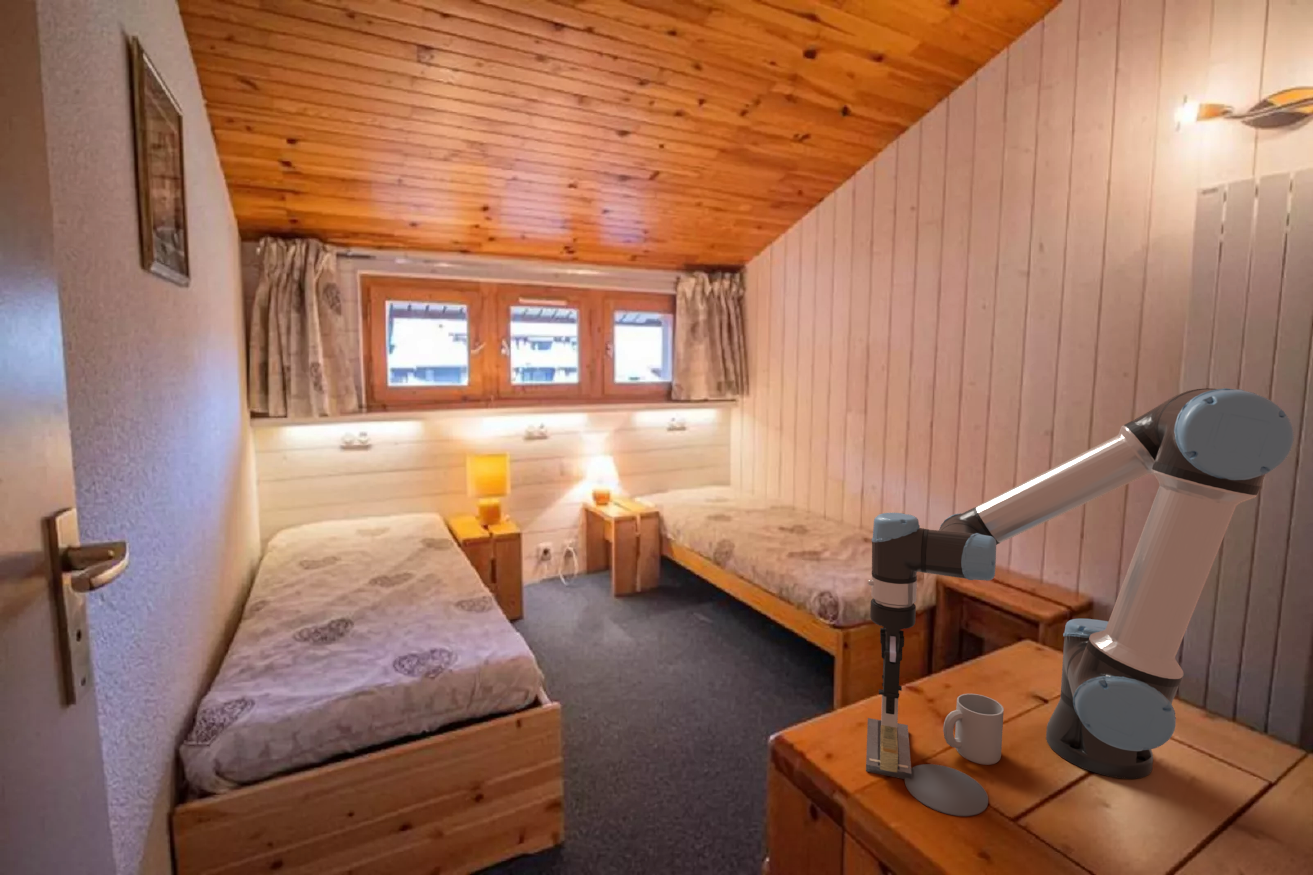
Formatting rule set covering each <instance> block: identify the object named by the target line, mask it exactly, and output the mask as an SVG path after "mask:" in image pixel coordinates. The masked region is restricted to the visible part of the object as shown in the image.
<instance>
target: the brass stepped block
mask: <svg viewBox="0 0 1313 875" xmlns="http://www.w3.org/2000/svg"><path fill="white" fill-rule="evenodd" d="M897 768H898V742H897V728H895V727H890V726H884V725H881V735H880V769H881V770H886V771H891V772H896V773H897Z"/></svg>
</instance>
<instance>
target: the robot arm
mask: <svg viewBox="0 0 1313 875" xmlns="http://www.w3.org/2000/svg"><path fill="white" fill-rule="evenodd" d="M1294 433H1295V432H1294V428H1293V424H1292V422H1291V419H1290V418H1289V416H1288V415H1287V414H1286V411H1284V410H1283V408H1281V407H1280V406H1279V405H1278V404H1277V403H1275V402H1274V401H1272V400H1271V399H1269V398H1267V397H1265V396H1263V395H1260V394H1257V393H1255V392H1251V391H1246V390H1245V389H1241V388H1240V389H1237V388H1227V387H1226V388H1225V387H1224V388H1206V387H1205V388H1196V389H1190V390H1187V391H1184V392H1182V393H1179V394H1176V395H1175V396H1172V397H1171V398H1169V399H1167V400H1166V401H1163V402H1162V403H1160V404H1158V405H1157V406H1156V407H1154V408H1152V409H1151V410H1148V411H1147V412H1145V413H1143V414H1142V415H1139V416H1138V417H1136V418H1135V419H1132V420H1131V421H1129V422H1127V423H1125V424H1123V425H1121V426H1120V429H1119V432H1118V434H1117V435H1115V436H1114V437H1111V438H1110V439H1108V440H1105V441H1103V442H1102V443H1100V444H1098V445H1095V446H1094V447H1092V448H1089V449H1087V450H1086V451H1084V452H1082V453H1079V454H1078V455H1076V456H1074V457H1072V458H1070V459H1067V460H1066V461H1064V462H1062V463H1060V464H1058V465H1056V466H1054V467H1052V468H1050V469H1048V470H1046V471H1044V472H1042V473H1040V474H1038V475H1036V476H1034V477H1032V478H1030V479H1028V480H1026V481H1024V482H1022V483H1020V484H1018V485H1016V486H1013V487H1012V488H1010V489H1008V490H1006V491H1004V492H1002V493H1000V494H998V495H996V496H994V497H992V498H990V499H988V500H985V501H984V502H982V503H980V504H978V505H976V506H975V507H973V508H970V509H968V510H967V511H964V512H962V513H961V512H960V513H954V514H952V515H950V516H948V517H947V518H946V519H944V521H943V522H942V523H940V524H941V525H940V527H939V530H938V529H936V530H935V529H928V528H924V527H921V525H920V523H919V519H918V517H916V516H914V515H912V514H907V513H901V512H884V513H879V514H878V515H876V516H875V517H874V520H873V529H872V530H873V531H872V538H871V579H869V580H868V581H867V585H868V586H871V592H870V596H871V598H872V599H870V609H869V610H870V611H869V612H870V613H869V614H870V615H869V617H870V619H871V621H872V623H873V624H875V625H878V626H881V627H880V628H879V636H880V638H879V642H880V644H881V646H880V647H881V648H880V651H881V653H880V654H881V658H882V659H883V661H882V662H883V663H882V664H883V665H882V676H881V679H882V681H883V682H882V683H881V686H882V688H883V689H880V688H878V695H881V717H880V718H881V719H880V720H881V725H884V726H890V727H895V728H897V724H898V719H899V698H900V691H901V692H902V691H903V690H902V689H903V688H902V685H900V672H901V670H900V668H901V661H902V659H903V648H904V646H905V636H904V634H905V633H904V629H907V630H908V629H910V628H912V627H914V626H915V624H916V617H917V616H916V611H917V610H916V609H917V606H916V604H915V603H916V602H917V597H918V595H917V592H918V590H917V589H918V579H917V578H918V575H917V574H918V573H924V574H932V575H937V576H938V575H939V576H945V577H952V578H958V579H965V580H968V581H974V580H976V581H992V580H993V579H994V578H995V576H996V564H997V563H996V562H997V545H999V544H1001V543H1003V542H1005V541H1008V540H1010V539H1012V538H1014V537H1016V536H1018V535H1020V534H1023V533H1024V532H1027V531H1029V530H1031V529H1034V528H1035V527H1038V526H1039V525H1041V524H1044V523H1046V522H1049V521H1050V520H1052V519H1054V518H1057V517H1059V516H1061V515H1064V514H1066V513H1068V512H1070V511H1073V510H1074V509H1076V508H1079V507H1081V506H1083V505H1085V504H1087V503H1089V502H1092V501H1094V500H1096V499H1098V498H1101V497H1103V496H1104V495H1107V494H1109V493H1111V492H1113V491H1115V490H1118V489H1120V488H1122V487H1124V486H1126V485H1129V484H1131V483H1133V482H1134V481H1137V480H1140V479H1141V478H1144V477H1146V476H1149V475H1152V476H1154V477H1155V478H1156V480H1157V482H1158V484H1159V486H1158V488H1157V492H1156V494H1155V497H1154V498H1153V502H1152V504H1151V508H1150V511H1148V512H1149V513H1148V515H1147V518H1146V521H1145V523H1144V526H1143V528H1142V532H1141V533H1140V534H1141V535H1140V536H1139V540H1138V541H1137V544H1136V547H1135V551H1134V552H1133V556H1132V558H1131V560H1130V563H1129V565H1128V568H1127V572H1126V573H1125V576H1124V580H1123V582H1122V584H1121V588H1120V589H1119V593H1118V595H1117V598H1116V601H1115V603H1114V607H1113V609H1112V612H1111V614H1110V616H1109V619H1108V621H1107V620H1101V619H1093V618H1092V619H1091V618H1073V619H1070V620H1068V621H1067V622H1066V623H1065V626H1064V627H1065V628H1064V632H1063V634H1062V635H1063V636H1062V637H1064V639H1063V640H1064V641H1063V652H1062V654H1063V656H1062V667H1061V668H1062V669H1061V671H1062V672H1061V681H1060V682H1061V683H1060V695H1059V696H1060V697H1059V701H1058V702H1057V704H1056V707H1055V709H1054V710H1053V713H1052V714H1051V716H1050V718H1049V720H1048V722H1047V725H1046V734H1045V739H1046V743H1047V745H1048V746H1049V747H1050V748H1051V749H1052V750H1053V752H1055V753H1056V754H1057V755H1059V756H1060V757H1061V758H1063V759H1065V761H1067V762H1069V763H1071V764H1073V765H1075V766H1078V767H1079V768H1082V769H1084V770H1087V771H1090V772H1092V773H1096V774H1098V775H1102V776H1106V777H1111V778H1117V779H1127V780H1128V779H1129V780H1133V779H1141V778H1145V777H1147V776H1148V775H1150V774H1151V772H1152V771H1153V763H1154V762H1153V760H1154V754H1153V750H1154V749H1157V748H1159V747H1161V746H1163V745H1165V744H1166V743H1167V742H1168V741H1170V740H1171V738H1172V737H1173V734H1174V732H1175V730H1176V725H1177V724H1176V723H1177V722H1176V721H1177V717H1176V710H1175V708H1174V707H1173V705H1172V704H1173V702H1174V698H1175V697H1176V694H1177V691H1178V689H1179V686H1180V683H1181V681H1182V679H1183V677H1184V670H1183V669H1182V667H1181V666H1180V665H1179V663H1178V661H1177V659H1176V656H1177V654H1178V651H1179V649H1180V646H1181V644H1182V641H1183V639H1184V636H1185V634H1186V632H1187V629H1188V626H1189V624H1190V621H1191V619H1192V616H1193V615H1194V611H1195V609H1196V606H1197V605H1198V601H1199V599H1200V597H1201V594H1202V592H1203V589H1204V587H1205V584H1206V582H1207V580H1208V577H1209V575H1210V572H1211V569H1212V567H1213V566H1214V565H1213V564H1214V562H1215V560H1216V557H1217V555H1218V552H1219V549H1220V547H1221V545H1222V542H1223V539H1224V538H1225V534H1226V533H1227V529H1228V527H1229V525H1230V522H1231V520H1232V518H1233V515H1234V513H1235V510H1236V508H1237V506H1238V505H1240V504H1241V503H1244V502H1246V501H1249V500H1252V499H1255V498H1256V497H1257V496H1258V494H1259V490H1260V489H1261V486H1262V483H1263V481H1264V478H1265V477H1266V474H1268V473H1270V472H1272V471H1274V470H1275V469H1277V468H1278V467H1279V466H1280V465H1282V463H1284V462H1285V460H1287V458H1288V456H1289V455H1290V453H1291V451H1292V448H1293V444H1294V439H1295V438H1294V437H1295V436H1294V435H1295V434H1294Z"/></svg>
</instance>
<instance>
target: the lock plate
mask: <svg viewBox="0 0 1313 875" xmlns="http://www.w3.org/2000/svg"><path fill="white" fill-rule="evenodd" d="M866 733H867V734H866V754H865V755H866V759H865V772H869V773H872V774H877V775H882V776H887V777H891V778H898V779H902V780H905V778H910V779H911V775H912V773H911V768H912V762H911V760H912V759H911V750H910V749H911V748H910V739H909V726H908V724H904V723H898V724H897V742H898V768H897V773H896V772H891V771H886V770H881V769H880V735H881V719H876V718H870V717H867V732H866Z"/></svg>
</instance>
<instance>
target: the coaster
mask: <svg viewBox="0 0 1313 875" xmlns="http://www.w3.org/2000/svg"><path fill="white" fill-rule="evenodd" d="M911 773H912V775H911V779H910V778H905V779H904V784H905V787H906V789H907V790H908V792H909V793H910V795H912V796H913V797H914V798H915V800H917V801H918V802H920V803H921V804H922V805H924V806H927V807H928V808H930V809H931V810H934V811H935V812H936V811H937V812H939V813H942V814H946V815H951V816H957V817H970V816H971V817H972V816H976V815H979V814H981V813H983V812H985V810H986V809H987V808H988V806H989V805H988V804H989V795H988V793H987V791H986V790H985V788H984V787H983V785H982V784H980V783H979V782H978V781H977V780H976V779H974V778H973V777H971V776H970V775H969V774H966V773H964V772H963V771H960V770H957V769H956V768H953V767H949V766H946V765H941V764H933V763H927V764H926V763H925V764H918V765H915V766H911Z"/></svg>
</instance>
